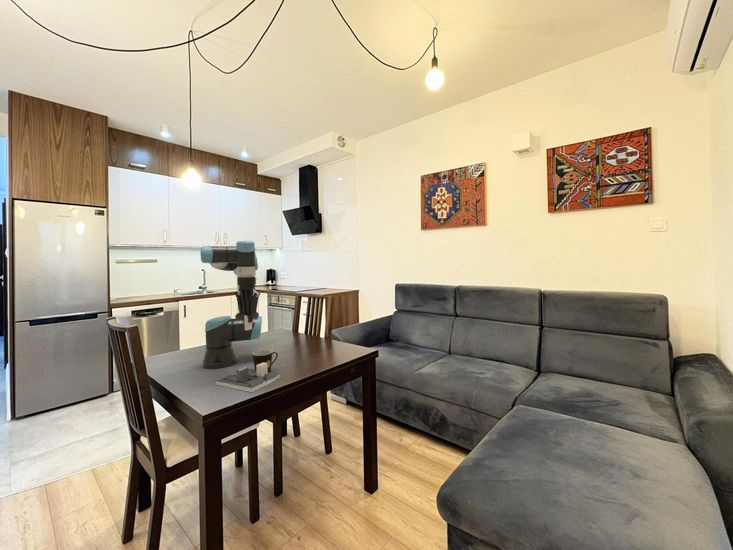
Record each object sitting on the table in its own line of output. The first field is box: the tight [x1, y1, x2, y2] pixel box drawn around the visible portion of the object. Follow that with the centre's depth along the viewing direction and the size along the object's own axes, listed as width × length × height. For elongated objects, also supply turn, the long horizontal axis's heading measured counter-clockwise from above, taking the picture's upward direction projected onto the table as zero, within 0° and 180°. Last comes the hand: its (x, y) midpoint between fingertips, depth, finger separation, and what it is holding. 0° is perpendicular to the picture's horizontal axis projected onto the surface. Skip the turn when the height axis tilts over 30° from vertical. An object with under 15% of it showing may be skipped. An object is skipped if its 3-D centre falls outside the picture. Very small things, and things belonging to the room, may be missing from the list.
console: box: [215, 368, 281, 393], centre depth 133 cm, size 20×16×4 cm
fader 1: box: [235, 367, 249, 382], centre depth 129 cm, size 2×4×5 cm, turn 154°
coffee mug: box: [252, 349, 279, 372], centre depth 143 cm, size 12×9×10 cm
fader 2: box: [256, 363, 268, 376], centre depth 135 cm, size 2×4×5 cm, turn 154°
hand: (248, 329), depth 139 cm, fingers closed
